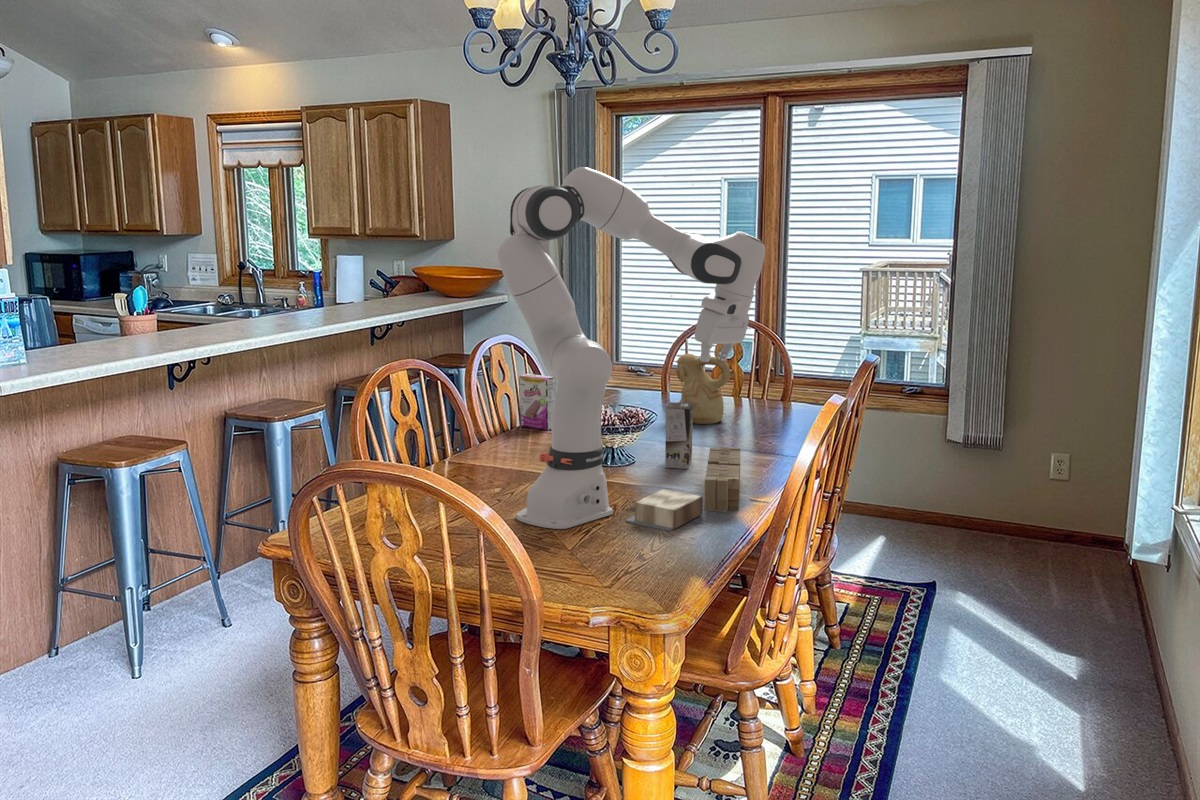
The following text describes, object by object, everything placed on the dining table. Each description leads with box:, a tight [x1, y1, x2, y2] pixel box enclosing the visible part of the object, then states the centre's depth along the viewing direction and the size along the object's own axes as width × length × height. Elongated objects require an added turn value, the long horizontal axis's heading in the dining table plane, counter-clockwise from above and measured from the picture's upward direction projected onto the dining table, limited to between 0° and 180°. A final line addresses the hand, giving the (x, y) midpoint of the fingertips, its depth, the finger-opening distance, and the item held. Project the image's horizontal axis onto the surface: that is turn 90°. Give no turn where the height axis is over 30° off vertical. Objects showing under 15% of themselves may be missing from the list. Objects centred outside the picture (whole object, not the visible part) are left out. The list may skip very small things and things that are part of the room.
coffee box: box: [664, 401, 693, 470], centre depth 245 cm, size 9×6×16 cm
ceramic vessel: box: [675, 344, 731, 425], centre depth 297 cm, size 17×20×25 cm
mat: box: [625, 515, 674, 532], centre depth 202 cm, size 14×11×1 cm
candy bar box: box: [518, 373, 557, 431], centre depth 289 cm, size 11×5×16 cm, turn 58°
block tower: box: [704, 446, 741, 513], centre depth 220 cm, size 8×8×29 cm
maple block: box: [634, 488, 704, 530], centre depth 201 cm, size 12×4×10 cm
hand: (712, 360), depth 216 cm, fingers open, 8 cm apart
